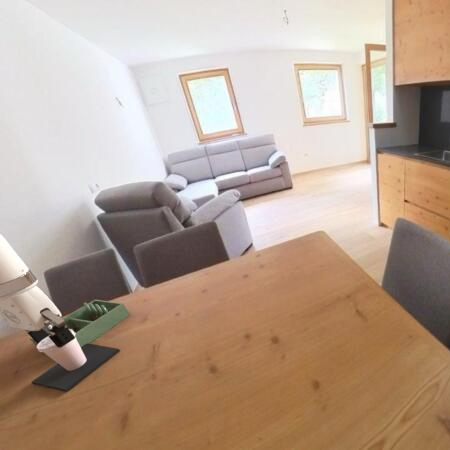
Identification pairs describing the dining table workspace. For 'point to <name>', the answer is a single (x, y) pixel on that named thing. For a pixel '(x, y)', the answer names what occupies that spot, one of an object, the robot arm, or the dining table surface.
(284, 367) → the dining table surface
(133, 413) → the dining table surface
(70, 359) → the smoothie
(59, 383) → the mat
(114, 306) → the rack
